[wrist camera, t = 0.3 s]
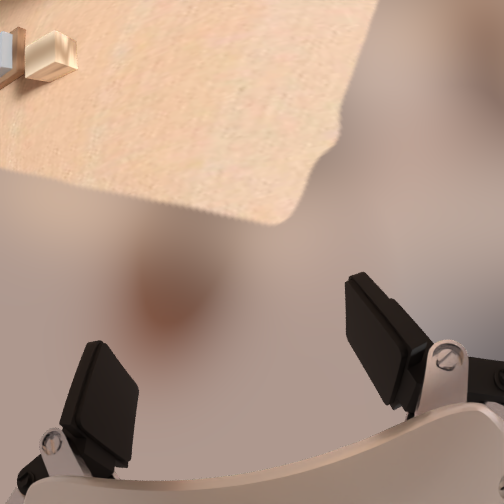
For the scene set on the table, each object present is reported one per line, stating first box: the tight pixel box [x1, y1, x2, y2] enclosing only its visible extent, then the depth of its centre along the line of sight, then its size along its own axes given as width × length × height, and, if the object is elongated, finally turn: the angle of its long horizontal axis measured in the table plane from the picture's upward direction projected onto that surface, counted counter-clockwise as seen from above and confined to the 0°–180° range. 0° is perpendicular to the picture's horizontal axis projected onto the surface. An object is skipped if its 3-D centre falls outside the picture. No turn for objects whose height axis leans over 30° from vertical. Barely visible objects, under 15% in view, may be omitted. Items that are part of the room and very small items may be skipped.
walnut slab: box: [0, 27, 26, 90], centre depth 21 cm, size 9×9×3 cm
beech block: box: [25, 30, 78, 82], centre depth 22 cm, size 5×5×7 cm
